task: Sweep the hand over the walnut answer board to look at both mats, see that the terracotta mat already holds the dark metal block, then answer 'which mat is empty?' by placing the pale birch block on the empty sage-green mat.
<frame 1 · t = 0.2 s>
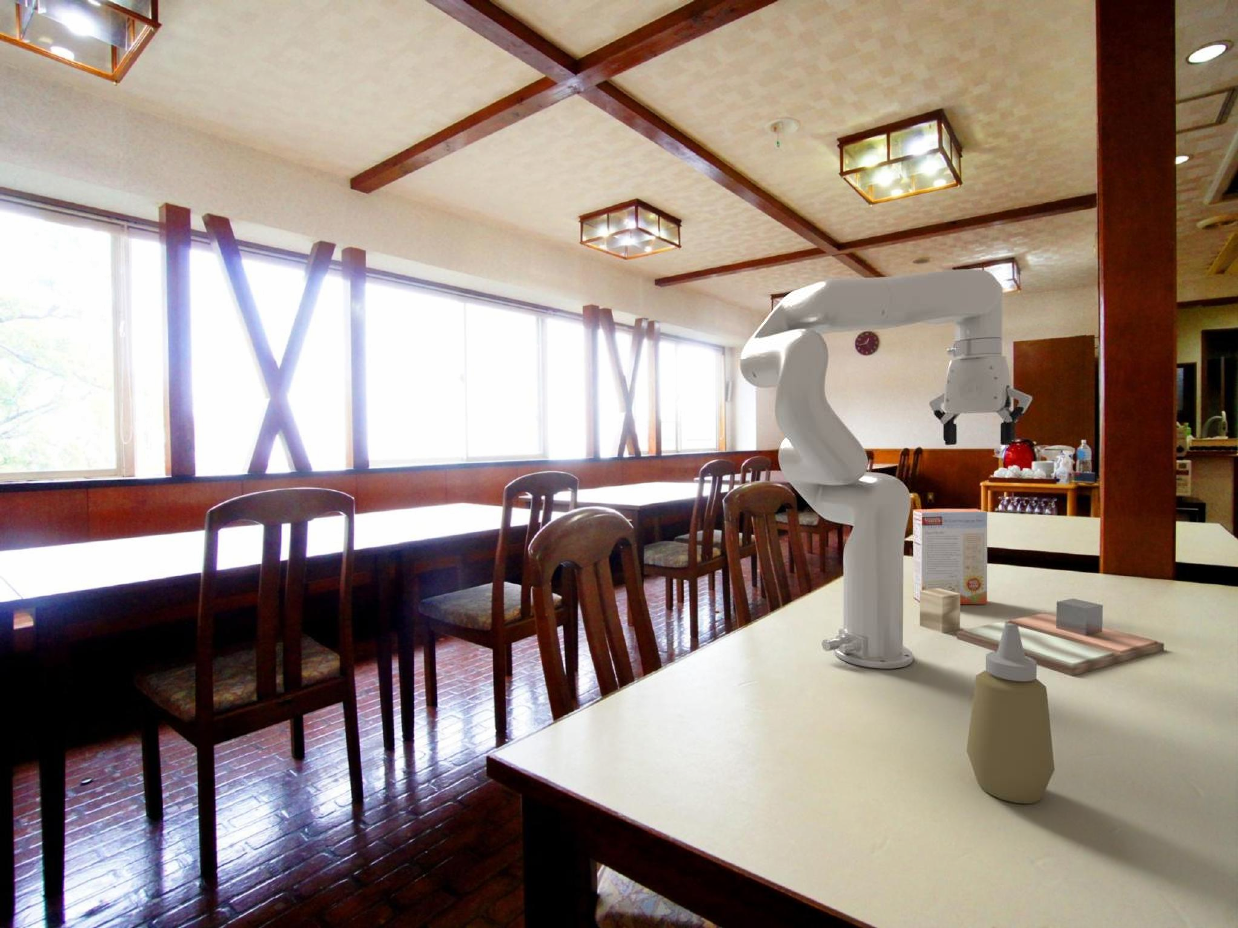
hand: (977, 444, 115), 36 cm above the table, tool pointing down, fingers open, 9 cm apart
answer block: (939, 627, 123), on the table
cracker box: (948, 602, 141), on the table
metal block: (1078, 630, 115), point 2 cm above the table, touching answer board
squeeze bottle: (1008, 791, 67), on the table
answer board: (1056, 643, 112), on the table
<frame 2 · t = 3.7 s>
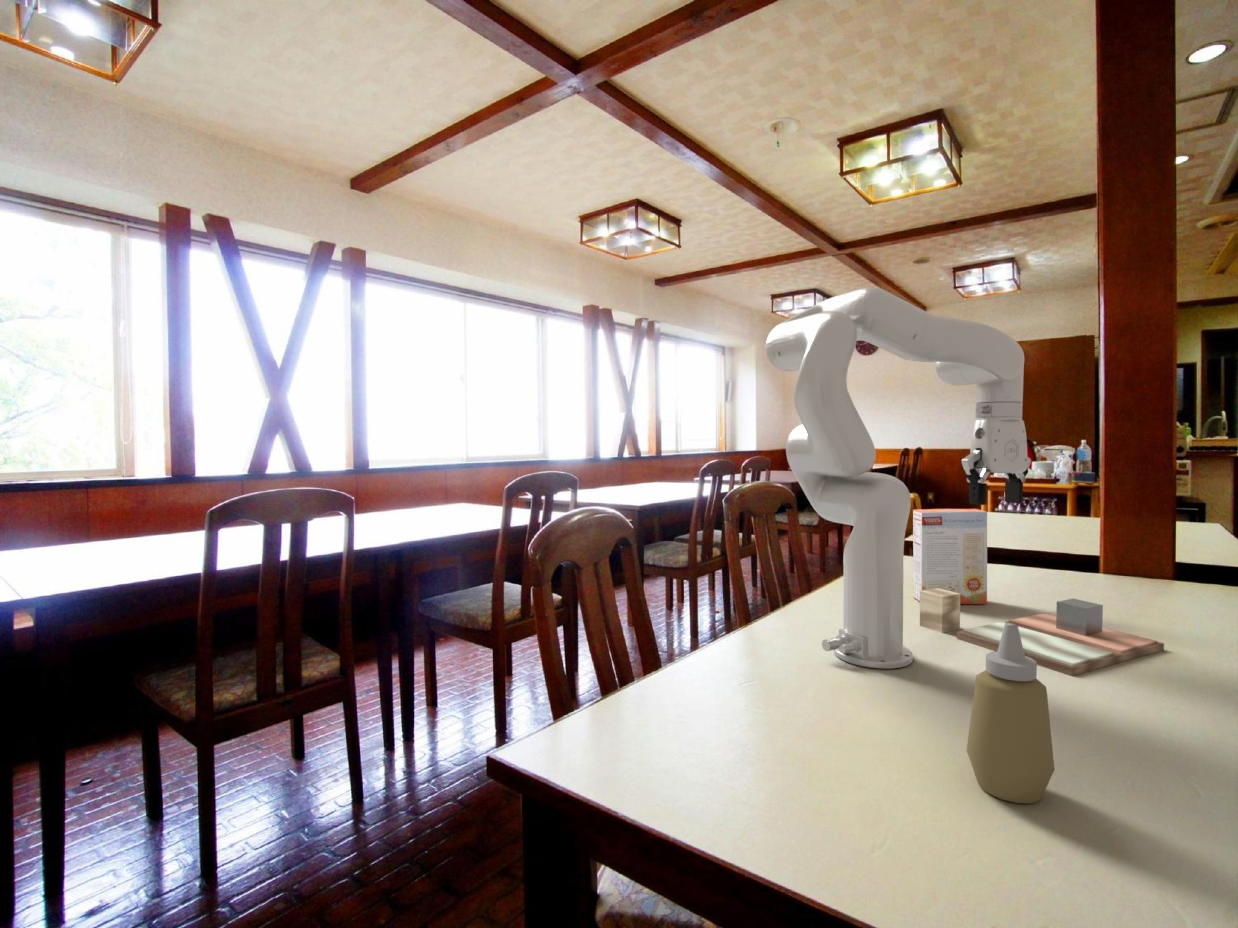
hand: (995, 503, 118), 25 cm above the table, tool pointing down, fingers open, 9 cm apart
nothing on the table moved.
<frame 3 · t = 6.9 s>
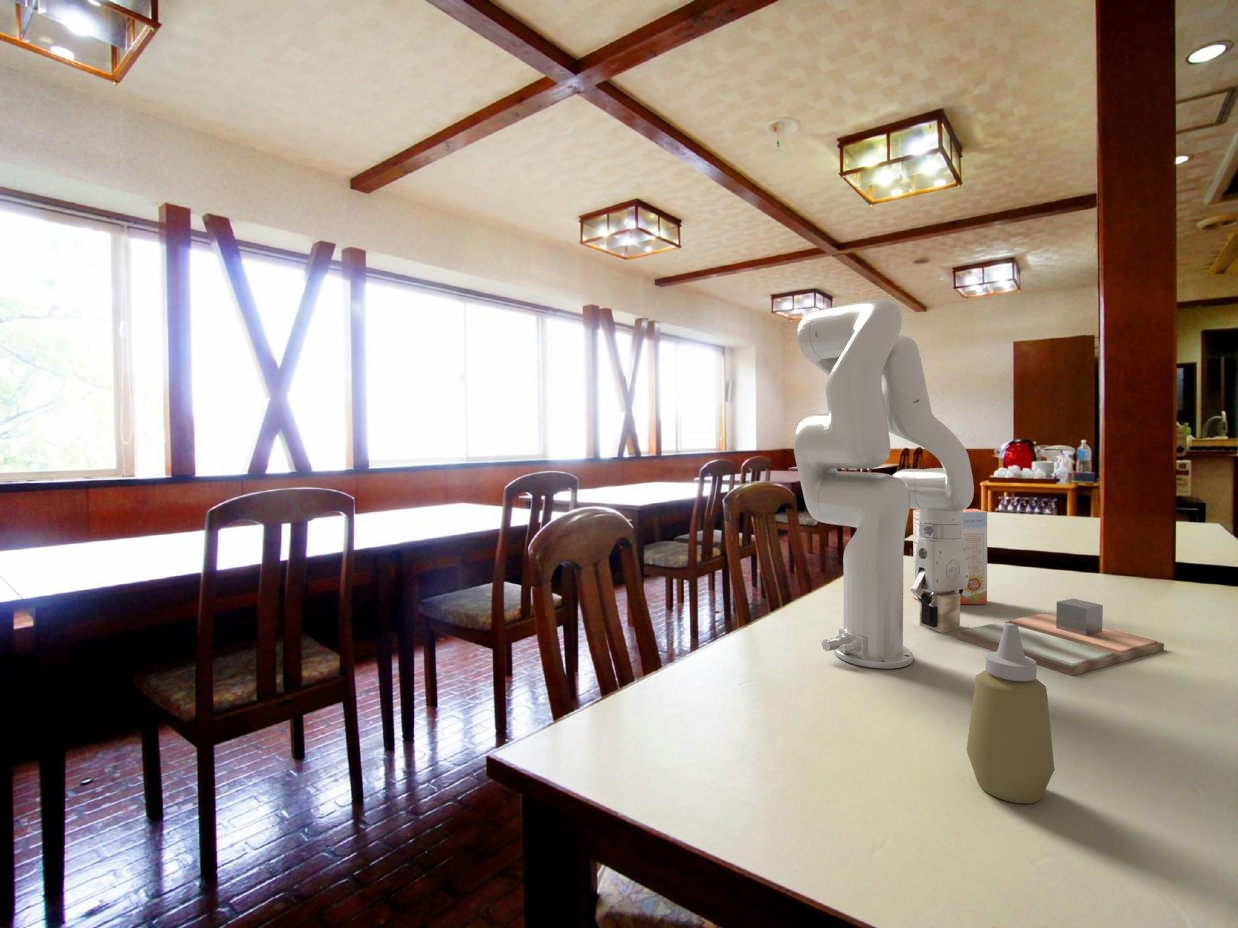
hand: (939, 622, 123), 1 cm above the table, tool pointing down, fingers closed on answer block, 5 cm apart
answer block: (939, 627, 123), on the table, touching gripper
everything else where it was.
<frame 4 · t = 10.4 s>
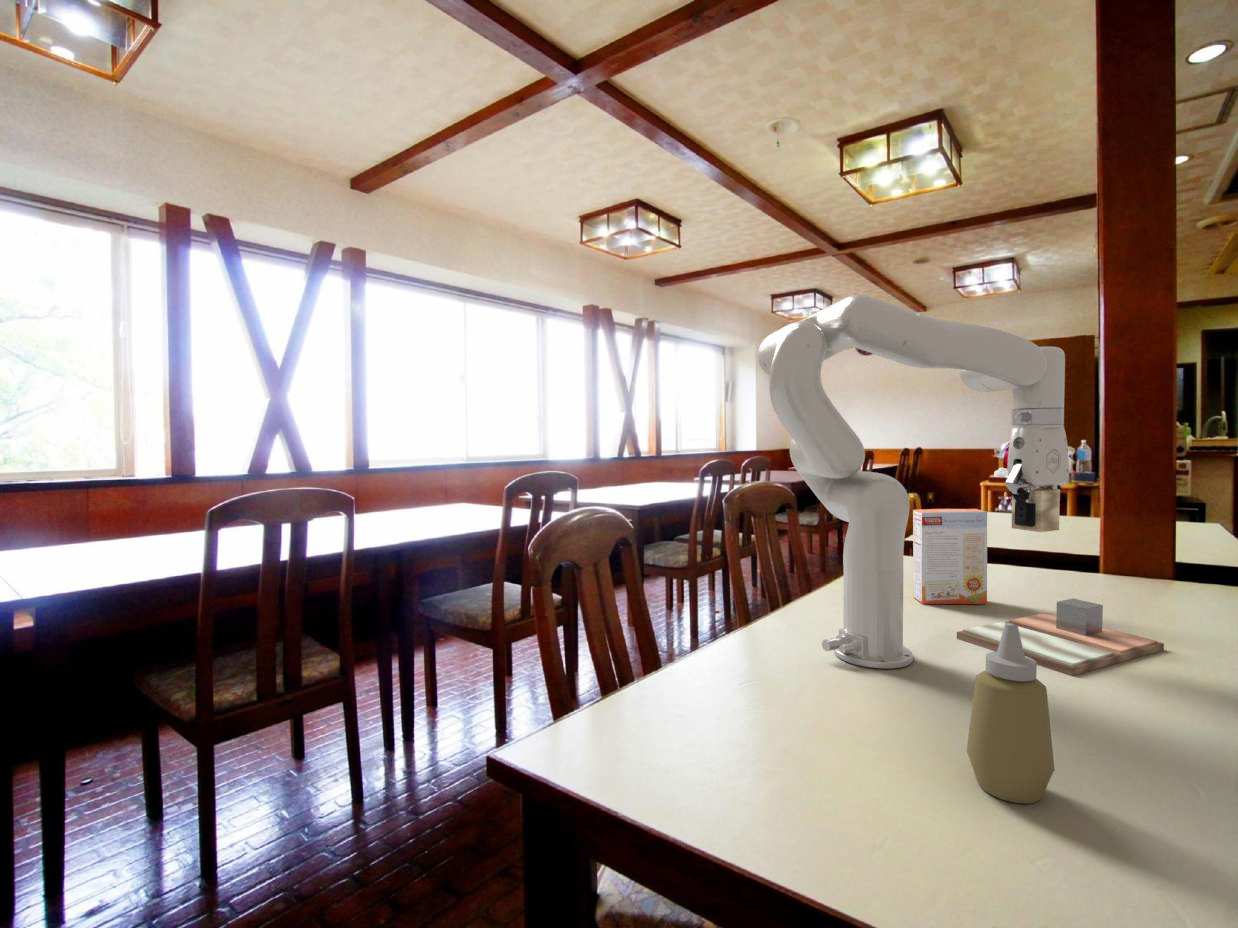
hand: (1035, 523, 108), 22 cm above the table, tool pointing down, fingers closed on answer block, 5 cm apart
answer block: (1035, 529, 108), point 21 cm above the table, touching gripper
everything else where it was.
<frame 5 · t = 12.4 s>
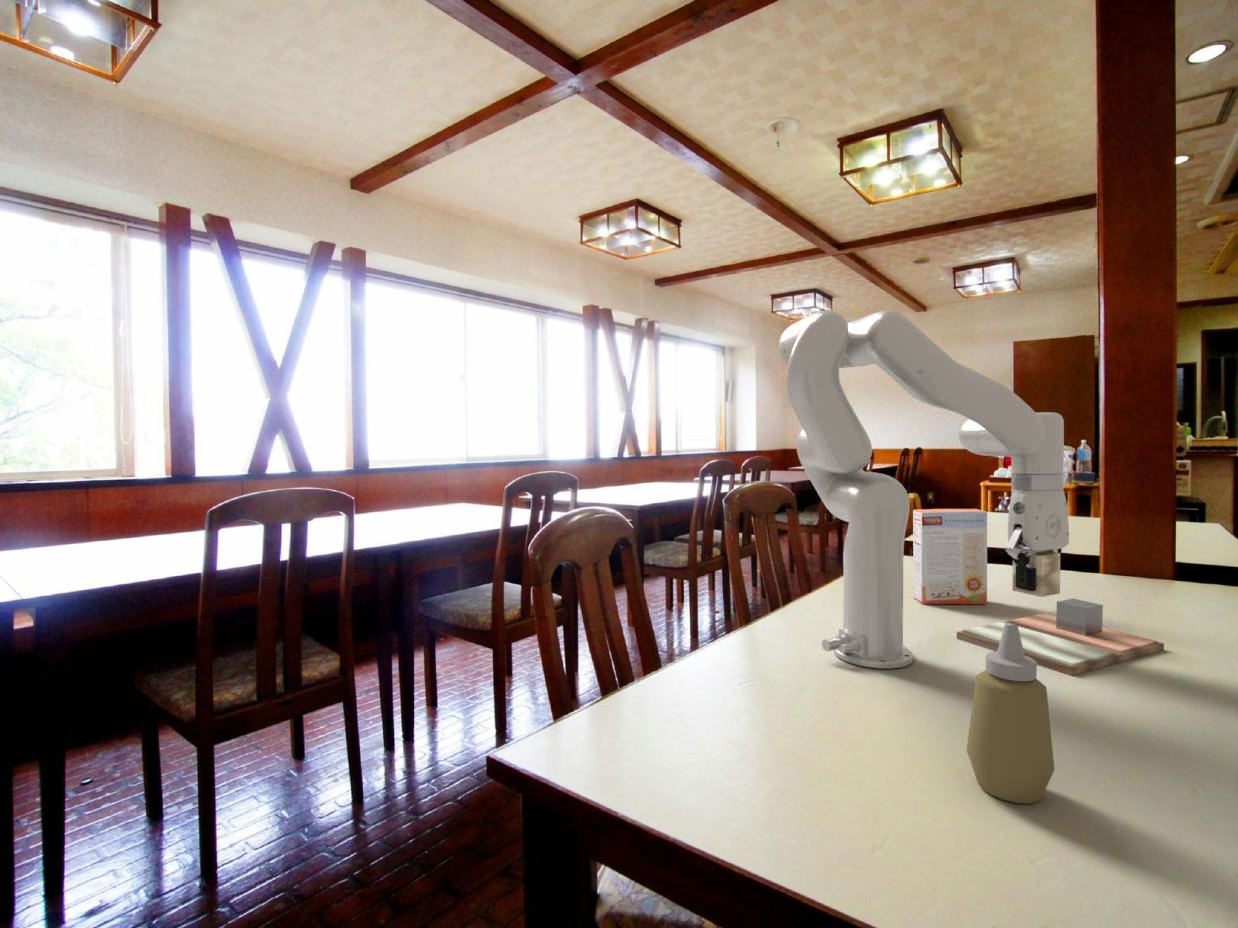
hand: (1036, 586, 109), 11 cm above the table, tool pointing down, fingers closed on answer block, 5 cm apart
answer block: (1036, 591, 109), point 10 cm above the table, touching gripper
everything else where it was.
when the fingers open (4 cm above the table, at t = 14.2 s): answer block drops 1 cm, resting on answer board.
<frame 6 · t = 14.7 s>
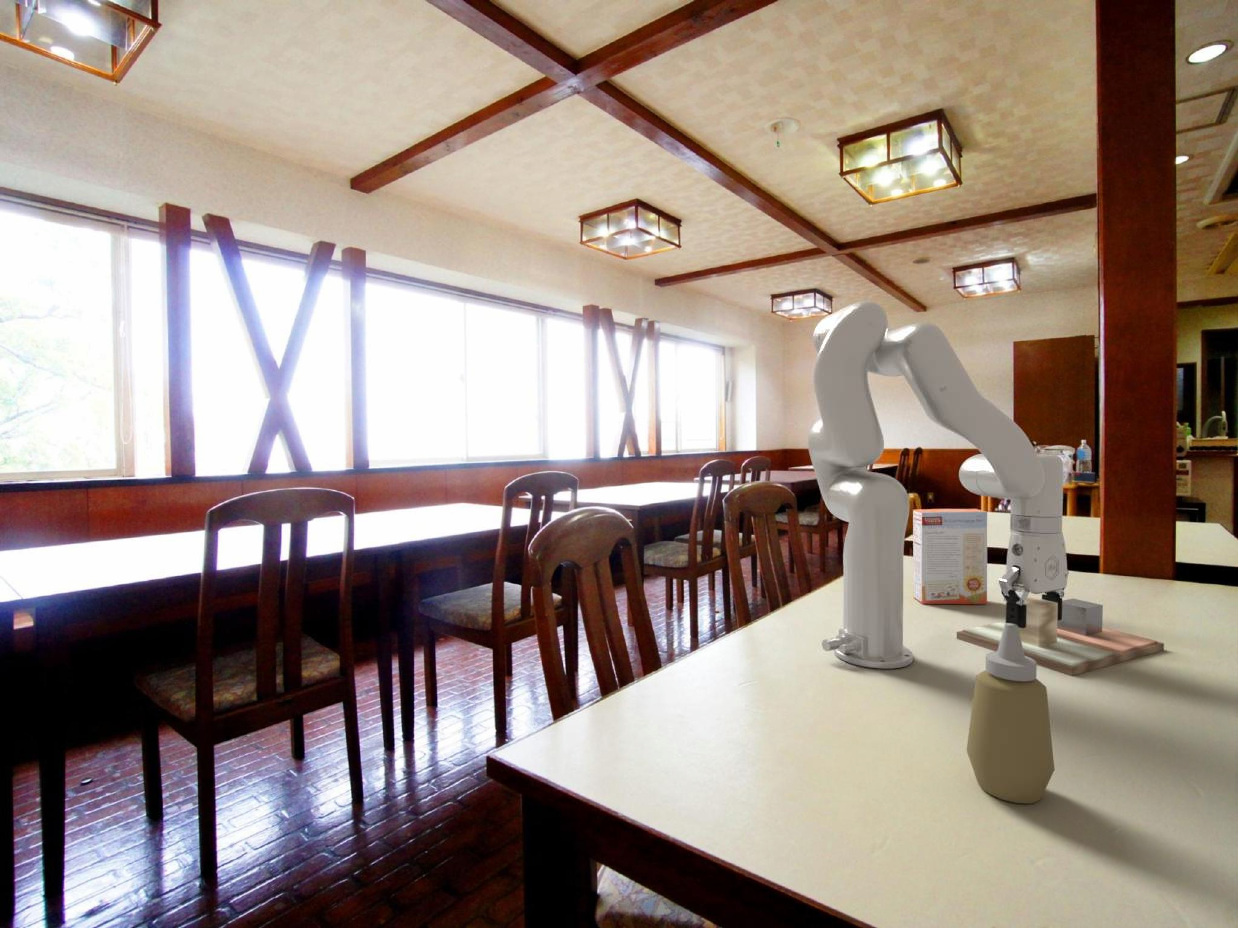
hand: (1034, 622, 109), 5 cm above the table, tool pointing down, fingers open, 9 cm apart
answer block: (1033, 640, 109), point 2 cm above the table, touching answer board
everything else where it was.
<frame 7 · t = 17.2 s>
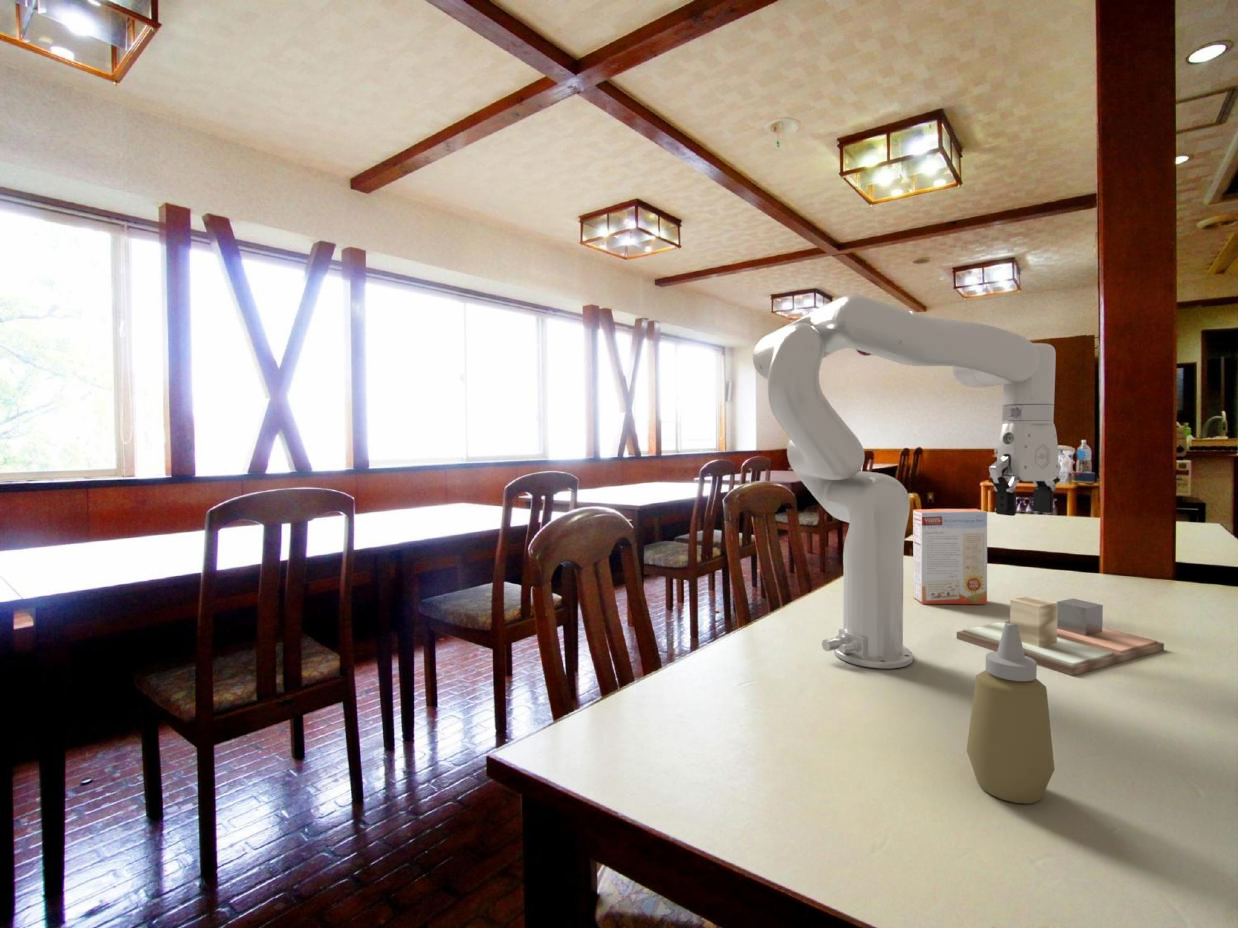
hand: (1024, 513, 109), 24 cm above the table, tool pointing down, fingers open, 9 cm apart
nothing on the table moved.
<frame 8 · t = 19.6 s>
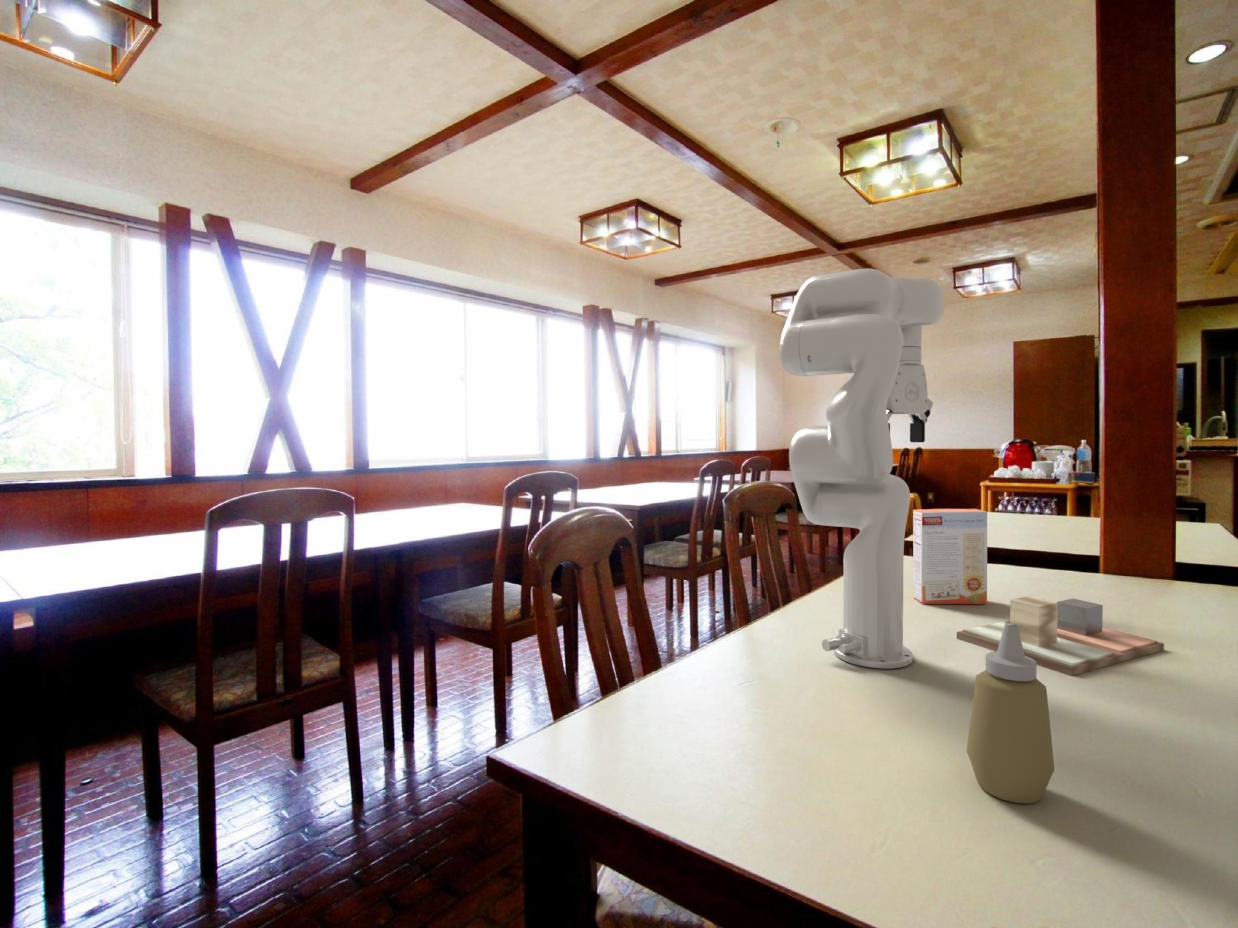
hand: (900, 442, 127), 36 cm above the table, tool pointing down, fingers open, 9 cm apart
nothing on the table moved.
at the end: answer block inside the target area on the answer board (0.1 cm from its centre), point 1.6 cm above the answer board's base; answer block tilted 0°; the gripper is holding nothing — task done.
